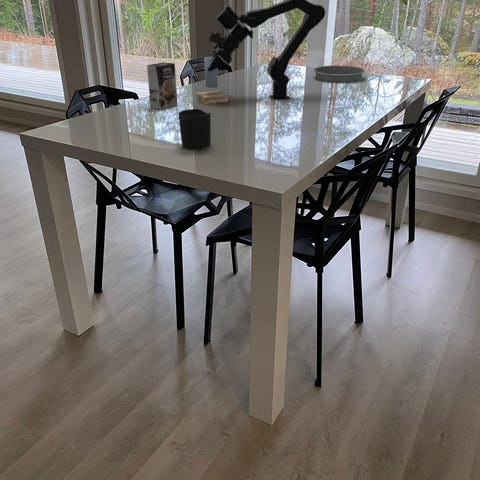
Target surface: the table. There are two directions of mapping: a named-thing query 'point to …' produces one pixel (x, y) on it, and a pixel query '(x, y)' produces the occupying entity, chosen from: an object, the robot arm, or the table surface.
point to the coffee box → (162, 85)
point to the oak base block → (212, 97)
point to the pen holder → (195, 128)
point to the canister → (210, 74)
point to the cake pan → (339, 73)
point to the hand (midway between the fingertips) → (207, 69)
